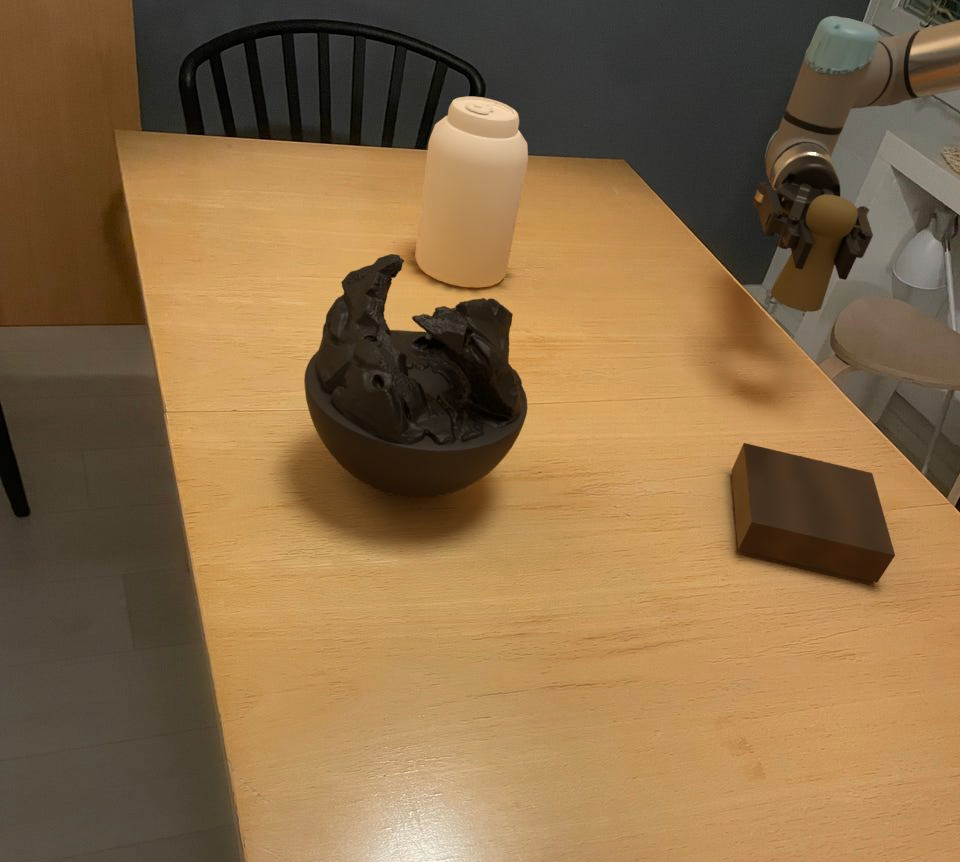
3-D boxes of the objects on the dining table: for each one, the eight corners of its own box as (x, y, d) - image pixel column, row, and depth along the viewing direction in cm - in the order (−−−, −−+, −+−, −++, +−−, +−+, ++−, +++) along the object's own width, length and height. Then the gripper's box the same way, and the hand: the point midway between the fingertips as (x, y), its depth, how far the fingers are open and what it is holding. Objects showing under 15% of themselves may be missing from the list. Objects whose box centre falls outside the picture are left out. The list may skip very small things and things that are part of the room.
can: (454, 297, 116) (480, 127, 102) (395, 255, 122) (412, 89, 108) (524, 281, 123) (557, 120, 109) (465, 242, 129) (490, 85, 115)
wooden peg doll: (760, 286, 104) (799, 187, 96) (801, 286, 106) (842, 188, 99) (790, 312, 100) (834, 210, 93) (832, 310, 103) (878, 211, 95)
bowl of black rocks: (523, 548, 83) (572, 362, 70) (301, 539, 79) (309, 340, 66) (491, 425, 97) (526, 250, 84) (300, 412, 92) (306, 226, 79)
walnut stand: (855, 502, 98) (872, 472, 95) (875, 586, 88) (895, 555, 86) (729, 473, 98) (743, 442, 95) (736, 553, 88) (751, 521, 85)
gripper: (857, 234, 114) (888, 314, 98) (725, 202, 114) (733, 277, 97) (886, 171, 109) (923, 244, 92) (748, 138, 109) (760, 205, 92)
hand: (826, 261), depth 95 cm, fingers closed on wooden peg doll, 4 cm apart
